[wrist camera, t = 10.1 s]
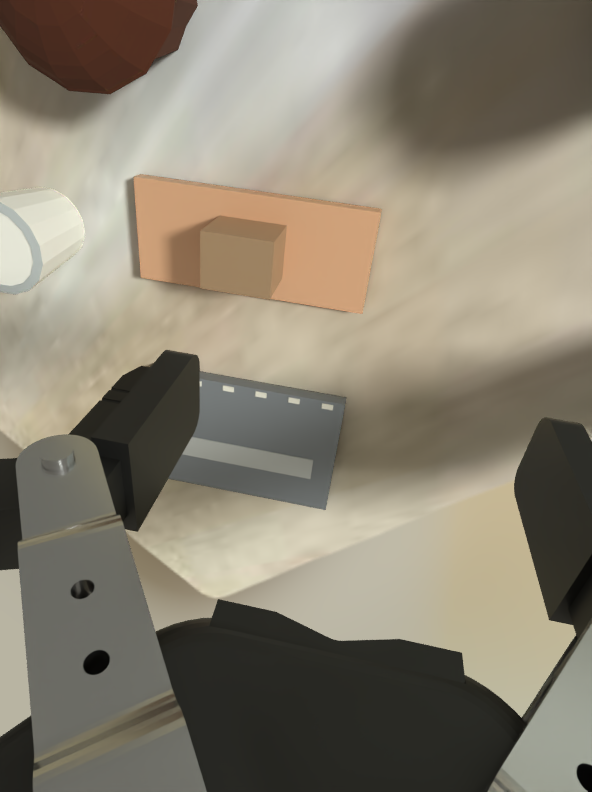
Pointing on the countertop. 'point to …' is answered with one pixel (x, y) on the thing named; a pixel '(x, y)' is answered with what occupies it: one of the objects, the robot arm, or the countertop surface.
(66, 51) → the muffin
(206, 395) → the board
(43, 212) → the shot glass
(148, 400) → the robot arm
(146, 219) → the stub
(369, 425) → the countertop surface
